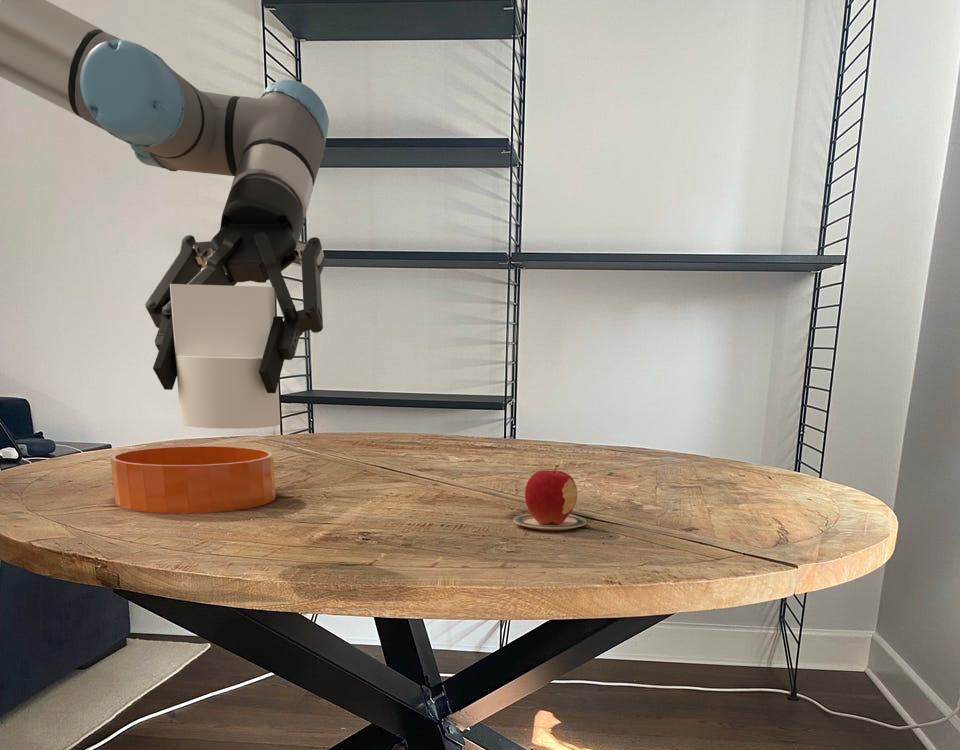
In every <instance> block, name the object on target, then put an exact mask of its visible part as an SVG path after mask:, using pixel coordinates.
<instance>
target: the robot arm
mask: <svg viewBox="0 0 960 750" xmlns="http://www.w3.org/2000/svg"><path fill="white" fill-rule="evenodd" d="M0 78H1V79H4V80H6V81H8V82H10V83H12V84H14V85H15V86H18V87H20V88H22V89H23V90H25V91H28V92H30V93H31V94H34V95H35V96H38V97H40V98H42V99H44V100H45V101H48V102H49V103H51V104H54V105H56V106H58V107H59V108H62V109H63V110H65V111H68V112H69V113H71V114H73V115H75V116H78V117H79V118H81V119H82V120H84V121H86V122H87V123H90V124H91V125H94V126H96V127H97V128H100V129H101V130H103V131H105V132H107V133H109V134H110V135H111V136H113V137H114V138H117V139H118V140H121V141H122V142H125V143H127V144H129V146H130V148H131V149H132V151H133V153H134V155H135V157H136V159H137V160H138V161H139V162H140V163H142V164H144V165H146V166H150V167H156V168H161V169H165V170H167V171H169V172H178V171H180V172H181V171H182V172H191V173H193V172H194V173H200V174H210V175H217V176H219V175H220V176H229V177H233V180H232V183H231V187H230V190H229V193H228V196H227V199H226V202H225V205H224V208H223V210H222V213H221V219H220V227H219V230H218V232H217V233H216V234H215V235H214V236H213V237H212V238H211V240H209V241H196V238H195V236H194V235H192V234H187V235H185V236H184V237H183V238H182V240H181V244H180V249H179V253H178V254H177V256H176V257H175V259H174V260H173V262H172V263H171V265H170V266H169V267H168V269H167V271H166V272H165V274H164V275H163V276H162V277H161V278H162V279H161V280H160V281H159V282H158V284H157V285H156V286H155V288H154V290H153V291H152V293H151V294H150V296H149V298H148V299H147V301H146V302H145V304H144V306H145V309H146V311H147V313H148V315H149V316H150V319H151V321H152V322H153V324H154V326H155V327H156V328H157V329H158V330H157V333H156V336H155V337H154V338H155V339H154V345H155V347H156V349H157V351H158V352H157V355H156V358H155V361H154V363H153V365H152V370H153V372H154V373H155V375H156V377H157V379H158V381H159V382H160V385H161V386H162V388H163V390H165V391H168V390H169V391H173V389H174V386H175V383H176V380H177V369H176V356H175V343H174V331H173V318H172V306H171V293H170V284H190V285H224V286H236V285H237V284H238V283H246V282H253V283H259V284H261V283H262V284H266V283H267V281H269V282H270V285H271V287H273V288H274V296H275V298H276V300H277V302H278V306H279V308H280V311H281V313H282V316H275V317H274V319H273V323H272V326H271V329H270V333H269V336H268V340H267V344H266V347H265V351H264V354H263V358H262V361H261V365H260V369H259V374H260V376H261V379H262V381H263V384H264V386H265V389H266V391H267V393H276V389H277V386H278V385H279V381H280V378H281V374H282V370H283V366H284V362H285V361H292V360H293V359H294V357H295V356H296V352H297V348H298V345H299V340H300V337H301V336H302V335H303V333H305V332H308V331H310V332H311V333H314V334H318V333H320V332H322V330H323V329H324V319H323V303H322V302H323V301H322V284H321V283H322V282H321V275H322V272H323V270H324V267H325V265H326V262H327V261H326V258H325V254H324V250H323V247H322V243H321V240H320V238H319V237H316V236H315V237H311V238H309V239H308V240H307V242H306V243H302V242H300V240H301V237H302V236H301V235H302V232H303V228H304V223H305V219H306V217H307V213H308V209H309V205H310V201H311V198H312V194H313V191H314V186H315V182H316V179H317V176H318V173H319V169H320V166H321V164H322V160H323V159H324V156H325V154H326V142H327V137H328V131H329V126H330V125H329V123H330V120H329V115H328V112H327V109H326V106H325V104H324V101H323V100H322V99H321V97H320V96H319V95H318V94H317V93H316V92H315V91H314V90H313V89H312V88H310V87H309V86H308V85H306V84H304V83H302V82H301V81H297V80H295V79H281V80H278V81H277V80H276V81H275V82H272V83H271V84H269V85H268V86H267V87H266V88H265V89H264V91H263V92H262V93H261V95H260V97H259V98H258V97H252V96H250V97H249V96H244V95H241V96H238V95H228V94H223V93H216V92H215V93H214V92H209V91H202V90H199V89H198V88H197V87H195V86H194V85H193V84H191V83H190V82H189V81H188V80H186V79H185V78H184V77H183V76H181V75H180V74H178V73H177V72H176V71H175V70H174V69H173V68H172V67H170V65H168V63H166V61H165V60H164V59H163V58H162V57H161V56H160V55H158V54H156V53H155V52H153V51H152V50H150V49H148V48H146V47H145V46H142V45H140V44H138V43H136V42H133V41H130V40H127V39H121V38H119V37H117V36H115V35H113V34H111V33H108V32H107V31H104V30H103V29H102V28H100V27H98V26H97V25H95V24H92V23H91V22H88V21H86V20H84V19H83V18H81V17H79V16H78V15H75V14H73V13H71V12H70V11H68V10H65V9H63V8H62V7H60V6H58V5H56V4H55V3H52V2H50V1H48V0H0ZM297 260H299V263H300V265H301V271H302V274H301V275H302V294H303V295H302V296H303V309H300V310H297V308H296V306H295V304H294V301H293V298H292V296H291V294H290V291H289V288H288V286H287V284H286V280H285V279H284V276H283V273H282V272H283V271H284V270H286V269H287V268H288V267H289V266H291V265H292V264H293V263H294V262H296V261H297Z"/></svg>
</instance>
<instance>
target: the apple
mask: <svg viewBox="0 0 960 750" xmlns="http://www.w3.org/2000/svg"><path fill="white" fill-rule="evenodd" d="M559 467H561V465H559V464H556V465H555V468H554V470H550V469H549V470H544V469H543V470H538V471H536V472H535V473H533V474H532V475H531V476H530V477H529V478H528V480H527V482H526V485H525V489H524V499H525V505H526V507H527V509H528V511H529V513H528V514H521V515H518V516H514V518H513V523H514V524H517V525H519V526H523V527H526V528H528V529H533V530H539V531H552V532H553V531H555V532H556V531H566V530H567V531H568V530H572V529H575V528H579V527H583V526H585V525H586V524H587V520H586V519H585V518H582V517H580V516H576V515H570V514H571V513H572V512H573V510H574V508H575V506H576V504H577V501H578V488H577V484H576V482H575V480H574V478H573V477H572V476H571V474H569V473H567V472H564V471H561V470H557V468H559Z"/></svg>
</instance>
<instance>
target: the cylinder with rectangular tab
mask: <svg viewBox="0 0 960 750" xmlns="http://www.w3.org/2000/svg"><path fill="white" fill-rule="evenodd" d="M170 293H171V306H172V318H173V331H174V343H175V356H176V369H177V377H176V380H177V393H178V394H177V395H178V406H179V416H180V417H179V418H180V419H179V420H180V425H182V426H185V427H191V428H201V429H202V428H203V429H221V430H223V429H227V430H228V429H229V430H231V429H232V430H233V429H237V430H238V429H239V430H240V429H261V428H272V427H277V426H280V425H281V410H280V389H279V387H280V386H279V385H280V384H278V386H277V389H276V393H267V391H266V389H265V386H264V384H263V381H262V379H261V376H260V374H259V369H260V365H261V361H262V358H263V354H264V351H265V347H266V344H267V340H268V336H269V333H270V329H271V326H272V323H273V319H274V317H276V299H275V298H276V295H275V293H274V288H273V287H272V286H258V285H257V286H254V285H234V286H224V285H190V284H170Z"/></svg>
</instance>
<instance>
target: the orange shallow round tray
mask: <svg viewBox="0 0 960 750" xmlns="http://www.w3.org/2000/svg"><path fill="white" fill-rule="evenodd" d="M274 461H275V460H274V454H273V453H272V451H269V450H265V449H260V448H255V447H245V446H244V447H243V446H230V445H229V446H228V445H182V446H180V445H179V446H162V447H160V446H159V447H150V448H149V447H147V448H141V449H140V448H139V449H133V450H132V449H131V450H127V451H122V452H117V453H115V454H113V455H110V466H111V476H112V485H113V494H114V501H115V505H117V506H118V507H120V508H123V509H126V510H130V511H137V512H145V513H156V514H157V513H160V514H201V513H219V512H229V511H237V510H244V509H250V508H251V509H252V508H255V507H260V506H264V505H267V504H269V503H271V502H274V500H275V499H276V498H277V496H276V479H275V463H274Z"/></svg>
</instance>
